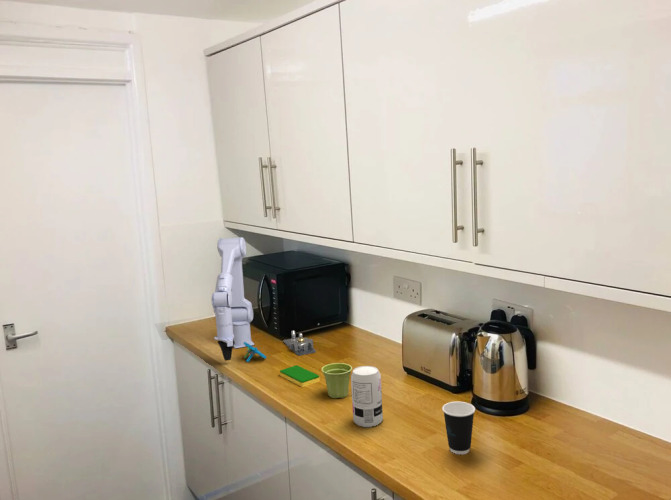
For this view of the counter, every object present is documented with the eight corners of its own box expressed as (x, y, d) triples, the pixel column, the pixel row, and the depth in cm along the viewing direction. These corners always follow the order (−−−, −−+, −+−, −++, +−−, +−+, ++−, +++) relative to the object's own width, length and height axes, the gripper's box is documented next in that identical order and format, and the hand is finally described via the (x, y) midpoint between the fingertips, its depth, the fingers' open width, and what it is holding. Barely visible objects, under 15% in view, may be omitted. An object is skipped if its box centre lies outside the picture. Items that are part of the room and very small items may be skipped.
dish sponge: (297, 371, 206) (296, 364, 206) (320, 382, 196) (319, 375, 195) (279, 376, 202) (279, 370, 202) (302, 388, 191) (302, 381, 191)
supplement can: (348, 419, 167) (345, 368, 164) (374, 412, 170) (372, 363, 167) (361, 431, 159) (358, 378, 157) (388, 423, 163) (385, 372, 160)
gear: (271, 357, 216) (250, 342, 212) (261, 371, 214) (240, 356, 211) (261, 353, 226) (241, 338, 222) (252, 366, 224) (232, 351, 221)
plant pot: (334, 386, 190) (333, 360, 189) (359, 392, 185) (357, 365, 183) (317, 397, 183) (315, 370, 181) (342, 403, 177) (340, 376, 176)
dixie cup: (479, 445, 148) (479, 404, 146) (470, 460, 142) (470, 417, 140) (449, 439, 152) (447, 399, 150) (439, 454, 145) (437, 412, 143)
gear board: (280, 343, 237) (279, 327, 235) (302, 339, 240) (301, 323, 239) (295, 356, 220) (294, 339, 219) (318, 351, 224) (317, 335, 223)
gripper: (209, 320, 218) (212, 355, 220) (217, 331, 205) (221, 368, 207) (228, 317, 221) (231, 352, 223) (237, 327, 207) (240, 364, 210)
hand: (227, 359), depth 215 cm, fingers closed
